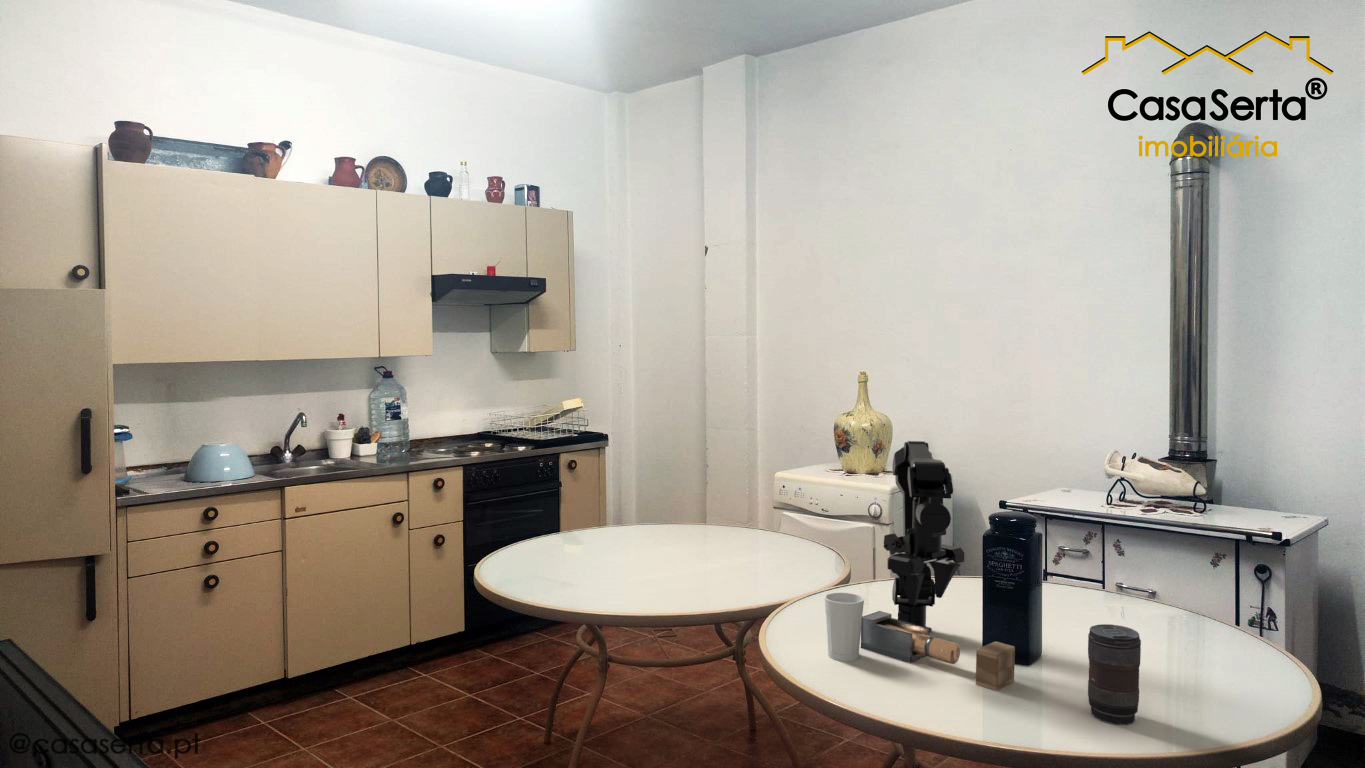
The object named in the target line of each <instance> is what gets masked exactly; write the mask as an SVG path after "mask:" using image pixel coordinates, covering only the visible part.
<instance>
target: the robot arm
mask: <svg viewBox="0 0 1365 768" xmlns="http://www.w3.org/2000/svg"><path fill="white" fill-rule="evenodd" d="M929 448H930V447H929V443H928V442H926V441H919V440H918V441H917V440H907V442H904V443H903V447H902V448H900V449H898V450H897V451H895V452H894V455H893V458H892V466H891V467H892V475H893V476H895V477H894V479H895V480H894V481H895V485H896V486H897V488H898V489H899V491H900V493H901V494H902V522H903V523H902V527H903V528H902V531H903V535H902V536H897V534H896V533H894V532H893V533H890V534H889V533H888V534H885V535H884V536H883V538H884V539H883V548H884V549H885V550H886V551H887V552H888V551H889V555H890V556H888V558H887V565H886V567H887V570H890V571H891V572H892V573H893V574H895V575H896V576H895V577H894V578H893V585H892V591H891V594H892V596H891V597H892V602H893V605H894V606H897V605H898V607H897V609H898V611H897V619H898V620H901V621H905V622H909V623H912V624H916V625H920V626H923V627H927V628H929V631H928V633H929V632H932V631H933V630H932V627H929V626H927V607H930V608H931V607H934V606H935V605H936V598H939V599H941V598H943V596H944V594H945V592H946V590H947V588H948V586H949V584H950V582H951V580H952V579H953V577H954V575H955V573H956V572H957V570H958V568H960V567H961V563H964V562H965V552H964V550H963V549H962V548H961V547H959V546H953V545H948V544H943V543H942V541H943V540H942V539H943V536H947V530H948V528H949V526H950V524H951V521H952V515H951V513H950V511H949V509H948V508H947V507H946V506H945V505H944V499H947V500H948V499H952V495H953V494H954V487H953V485H954V484H953V480H952V473H951V472H950V469H949V468H948V467H946V464H945V462H943V460H940V459H934V458H933V453H932V452H931V451H930V450H929ZM928 564H929V565H930V566H929V565H928ZM930 567H932V569H933V577H934V578H932V571H931V568H930Z"/></svg>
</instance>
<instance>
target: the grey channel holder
mask: <svg viewBox="0 0 1365 768" xmlns="http://www.w3.org/2000/svg"><path fill="white" fill-rule="evenodd" d="M877 622H882V623H885V624H889V625H893V626H896V627H900V628H903V629H907V630H910V631H914V632H917V633H921V634H924V635H928V636H929V632H930V631H929V628H927V627H928V626H926V627H923V626H920V625H916V624H912V623H909V622H905V621H901V620H898V618H893V617H892V613H889V612H885V611H883V610H878V611H875V612H873V613H872V612H871V613H869V614H866V615H862V624H861V635H860V648H861V649H863V650H867V651H868V652H869V651H870V652H873V653H876V654H878V655H882V656H886V657H888V658H892V659H895V660H898V661H901V662H904V663H908V664H911V663H914V662H916V661H919V660H921V659H924V658H926V657H927V656H924V655H921V654H918V653H914V652H912V639H913V634H911V633H908V632H904V631H901V630H897V629H894V628H890V627H887V626H883V625H880V624H876V623H877ZM928 631H929V632H928Z"/></svg>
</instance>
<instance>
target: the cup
mask: <svg viewBox="0 0 1365 768" xmlns="http://www.w3.org/2000/svg"><path fill="white" fill-rule="evenodd" d="M864 598H865V597H863V596H861V595H859V594H856V593H852V592H830V593H827V594H825V595H824V606H825V607H824V608H825V618H826V635H827V657H829V658H830V659H832V660H835V661H840V662H852V661H856V660H858V659H859V658H860V646H861V624H862V616H863V613H864V604H865V603H864V602H865V599H864Z"/></svg>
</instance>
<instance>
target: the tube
mask: <svg viewBox="0 0 1365 768" xmlns="http://www.w3.org/2000/svg"><path fill="white" fill-rule="evenodd" d="M876 624H880V625H883V626H887V627H890V628H894V629H897V630H901V631H904V632H908V633H911V634H913V639H912V652H914V653H918V654H921V655H924V656H926V657H927V658H929V659H934V660H937V661H941V662H944V663H948V664H950V665H956V664H957V663H958V661H959V659H960V656H961V648H960V645H959V644H958V643H956V642H951V641H948V640H944V639H942V638H938V637H936V636H931V635H929V634H928V635H924V634H921V633H917V632H914V631H910V630H907V629H903V628H900V627H896V626H893V625H889V624H885V623H882V622H877V623H876Z"/></svg>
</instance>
